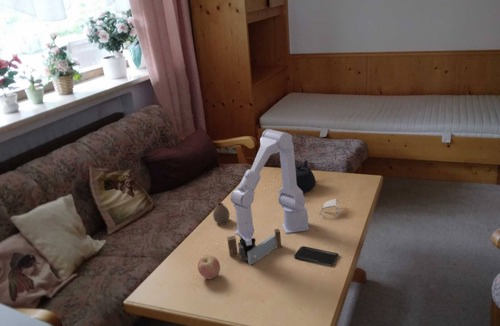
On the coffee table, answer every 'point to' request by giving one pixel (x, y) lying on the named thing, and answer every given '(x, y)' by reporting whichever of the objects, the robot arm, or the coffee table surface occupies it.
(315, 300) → the coffee table surface
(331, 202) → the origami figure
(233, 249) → the door frame
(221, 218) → the vase
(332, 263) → the phone
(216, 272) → the apple
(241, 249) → the block
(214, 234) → the coffee table surface
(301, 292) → the coffee table surface
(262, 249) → the door
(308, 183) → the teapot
